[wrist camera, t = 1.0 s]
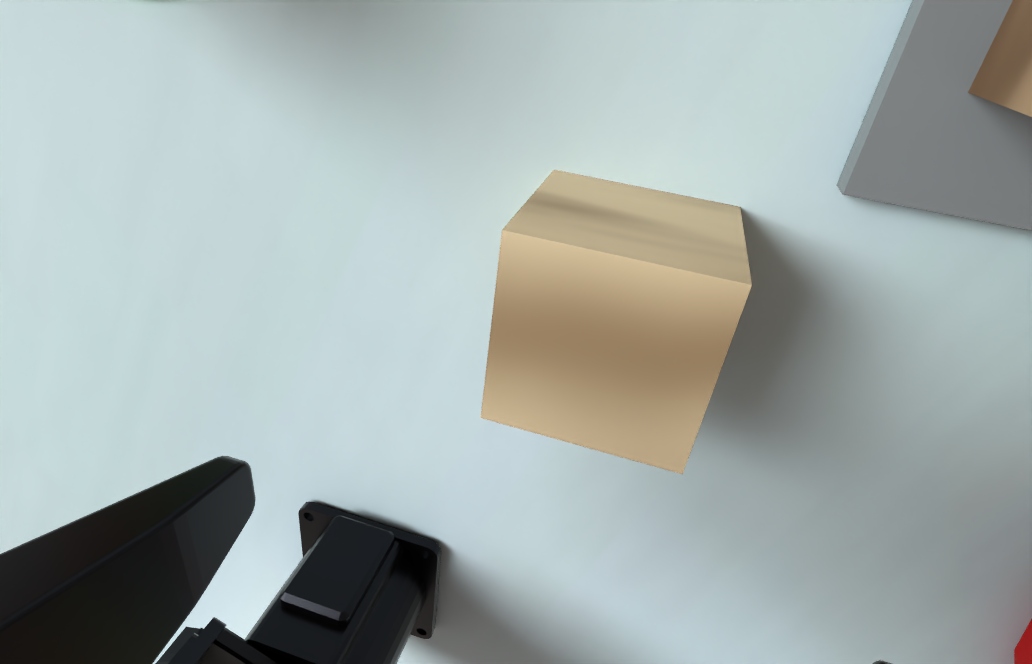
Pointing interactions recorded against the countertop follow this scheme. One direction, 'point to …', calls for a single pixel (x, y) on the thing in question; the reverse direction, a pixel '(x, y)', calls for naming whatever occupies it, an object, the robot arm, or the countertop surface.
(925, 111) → the slate plate
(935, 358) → the countertop surface
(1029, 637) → the white chicken figurine
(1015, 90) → the walnut cube
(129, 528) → the robot arm
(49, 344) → the countertop surface
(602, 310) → the oak cube
